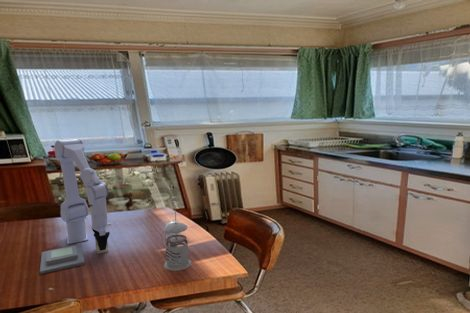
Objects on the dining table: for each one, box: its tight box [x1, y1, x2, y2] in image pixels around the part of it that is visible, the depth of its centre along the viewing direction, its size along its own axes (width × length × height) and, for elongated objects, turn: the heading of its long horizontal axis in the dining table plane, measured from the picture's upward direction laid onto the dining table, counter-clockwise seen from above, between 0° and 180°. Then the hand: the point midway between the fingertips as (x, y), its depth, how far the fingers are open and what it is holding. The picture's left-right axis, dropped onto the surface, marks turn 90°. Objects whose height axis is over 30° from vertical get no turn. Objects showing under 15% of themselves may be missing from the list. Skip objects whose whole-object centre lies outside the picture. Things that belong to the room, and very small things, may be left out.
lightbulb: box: [165, 220, 181, 244], centre depth 128 cm, size 6×6×11 cm
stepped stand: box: [39, 243, 86, 275], centre depth 120 cm, size 18×14×3 cm
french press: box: [160, 196, 192, 272], centre depth 113 cm, size 10×12×25 cm
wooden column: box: [94, 237, 109, 255], centre depth 126 cm, size 4×4×6 cm
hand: (101, 246), depth 127 cm, fingers open, 6 cm apart
